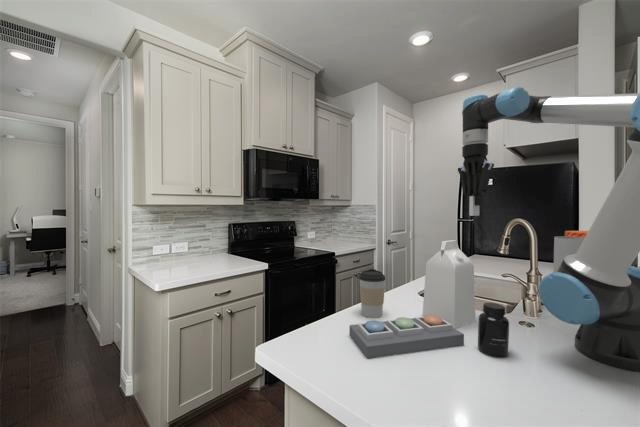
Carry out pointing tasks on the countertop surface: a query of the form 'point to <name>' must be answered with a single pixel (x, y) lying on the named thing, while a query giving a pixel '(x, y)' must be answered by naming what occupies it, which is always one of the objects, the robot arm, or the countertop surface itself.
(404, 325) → the button sage
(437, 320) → the button terracotta
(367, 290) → the coffee cup
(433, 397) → the countertop surface
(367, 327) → the button slate
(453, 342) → the panel
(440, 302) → the milk
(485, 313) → the supplement bottle
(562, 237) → the cylinder vase
